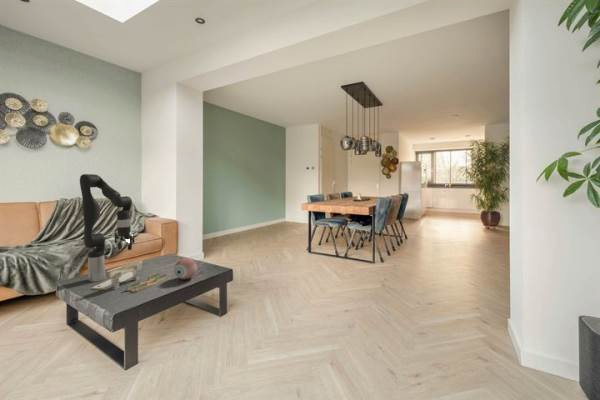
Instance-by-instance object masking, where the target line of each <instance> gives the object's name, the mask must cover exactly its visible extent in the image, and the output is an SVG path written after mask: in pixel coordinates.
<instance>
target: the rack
mask: <svg viewBox="0 0 600 400" xmlns="http://www.w3.org/2000/svg"><path fill="white" fill-rule="evenodd" d="M166 279H168V276H167V273H162V274H160V273H159V272H156V273H154V274H151V275H149V276H147V280H145V281H143V282H140V280H137V281H134V282H133V283H131V284H129V285H127V286H126V289H125V291H126V292H133V293H138V292H140V291H142V290H144V289H145V290H146V289H147V288H149V287H151V286H153V285H155V284H157V283H159V282H162V281H163V280H166Z"/></svg>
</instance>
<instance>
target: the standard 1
mask: <svg viewBox="0 0 600 400" xmlns="http://www.w3.org/2000/svg"><path fill="white" fill-rule="evenodd" d="M120 277H121V272H118V273H115V278H112V279H111V288H110V289H111V290H114V291H116V290H117V289H120V283H119V278H120Z"/></svg>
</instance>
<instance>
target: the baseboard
mask: <svg viewBox="0 0 600 400" xmlns="http://www.w3.org/2000/svg"><path fill="white" fill-rule="evenodd" d="M131 278H133V273H132V271H131V272H128V273H126V274H123V275H121V277H120V278H119V284H121V283H124V282H125V281H127V280H129V279H131ZM110 289H112V288H111V279H108V280H105V281H103V282H101V283H99V284H97V285H94V286H91V290H99V291H100V290H103V291H104V290H106V291H108V290H110Z"/></svg>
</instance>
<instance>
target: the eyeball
mask: <svg viewBox="0 0 600 400" xmlns="http://www.w3.org/2000/svg"><path fill="white" fill-rule="evenodd" d="M175 263H176V264H174V269H173V271H174V275H175V276H176V278H178V279H180V280H190V279H191V278H192V277H194V276H195V274H196V272H197V271H198V270H197V268H198V267H197V262H196V261H194V260H193V258H189V257H184V258H181V259H179V260H178V261H177V262H175Z"/></svg>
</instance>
